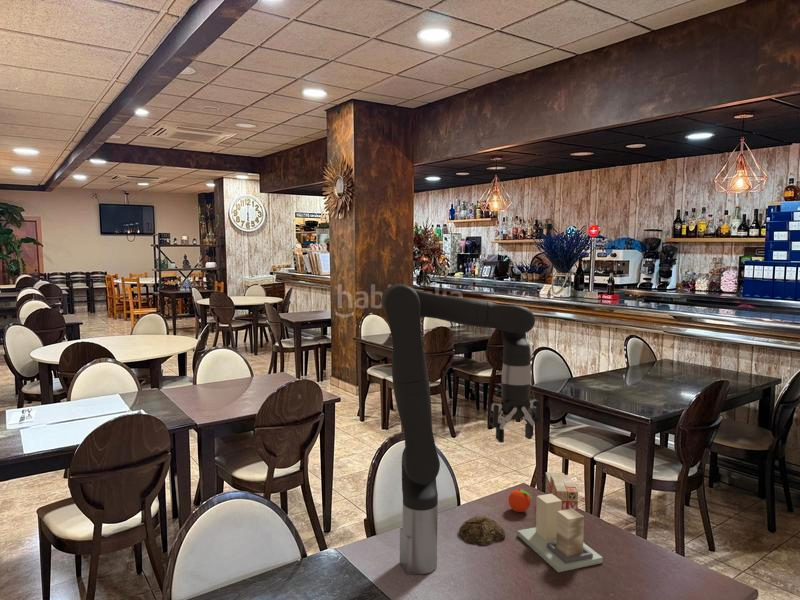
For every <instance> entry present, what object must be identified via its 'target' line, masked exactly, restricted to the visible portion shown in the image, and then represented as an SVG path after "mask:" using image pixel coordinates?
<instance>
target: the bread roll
mask: <svg viewBox="0 0 800 600" xmlns="http://www.w3.org/2000/svg"><path fill="white" fill-rule="evenodd" d="M458 534H459V535H460V536H462V537H463V539H464V541H465V542H466V543H467V544H471V545H472V544H473V545H478V544H479V546H488V544H489V545H493V544H495V543H500V542H503V541H505V538H506V532H505V530H504V528H502V526H501V525H500V524H499V523H498V522H497V521H495V520H494V519H493V518H490V517H488V516H486V515H484V516H482V515H475V516H473V517H471V518H469V519H467V520H465V521H464V522H463V523H462V524H461V526H460V527H459V530H458Z"/></svg>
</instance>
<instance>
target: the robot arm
mask: <svg viewBox="0 0 800 600" xmlns="http://www.w3.org/2000/svg"><path fill="white" fill-rule="evenodd" d="M380 303H381V304H380V305H381V307H382V310H383V311H384V313H385V315H386V318H387V320H388V324H389V325H388V326H389V330H390V334H391V335H390V336H391V340H392V341H391V342H392V343H391V344H392V355H391V357H392V358H391V377H392V385H393V393H394V398H395V399H394V400H395V404H396V408H397V412H398V415H399V420H400V423H401V425H402V430H403V436H404V446H405V447H404V449H403V451H402V454H401V493H402V527H400V529H399V563H400V564H401V566H402V568H403V569H404V571H405V572H406V574H408V575H409V574H414V575H426V574H430V573H432V572H434V571H435V570H436V568H437V566H438V507H439V505H438V502H439V500H438V499H439V494H438V493H439V492H438V488H437V476H438V475H439V472H440V469H441V468H440V467H441V461H440V457H439V454H438V450H437V447H436V446H437V445H436V442H435V438H434V431H433V422H432V420H433V418H432V417H433V415H432V414H433V413H432V398H431V388H430V386H431V385H430V379H429V372H428V365H427V360H426V355H425V350H424V345H423V340H422V332H421V331H422V328H421V318H422V317H423V318H430V319H431V318H432V319H436V320H441V321H446V322H450V323H453V324H458V325H463V326H469V327H475V328H482V329H494V330H499V331H501V339H502V344H503V350H502V356H503V357H502V358H503V359H502V369H501V389H500V390H501V392H500V393H501V402H500V403H494V402H491V403H490V406H489V416H488V417H489V421H488V423H489V424H488V425H490V426H492V427H493V428H495V439H496V440H497V442H498V443H500V444H502V443H504V442H505V429H504V428H505V426H506V425H507V423H509V422H510V421H511V420H516V419H519V420H520V419H523V420H524V421H525V428H524V429H525V430H524V432H525V433H524V436H525V438H526V439H527V440H532V439H533V436H534V426H535V424H537V423H538V424H539V423H541V402H540V400H537V399H534V398H532V399H531V400H530V398H531V377H532V376H531V372H532V371H531V346H530V344H529V342H528V341H527V333H529V332H530V331H531V330H532V329H533V328H534V327H535V323H536V318H535V315H534V313H533V312H532V311H531V310H530V309H529V308H528V307H526V306H521V305H519V304H510V305H508V304H500V303H499V304H498V303H496V302H493V301H489V300H482V299H475V298H470V297H469V298H466V297H458V296H447V295H439V294H434V293H431V292H430V293H428V292H425V291H421V290H419V289H415V288H412V287H411V286H409V285H407V284H403V283H395V284H393V285H389V286H388V287H387V288H386V289H385V290H384V291H383V293H382V294H381V298H380ZM529 409H531V414H530V412H529V411H528V410H529ZM501 410H502V411H501ZM499 413H500V414H499Z"/></svg>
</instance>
